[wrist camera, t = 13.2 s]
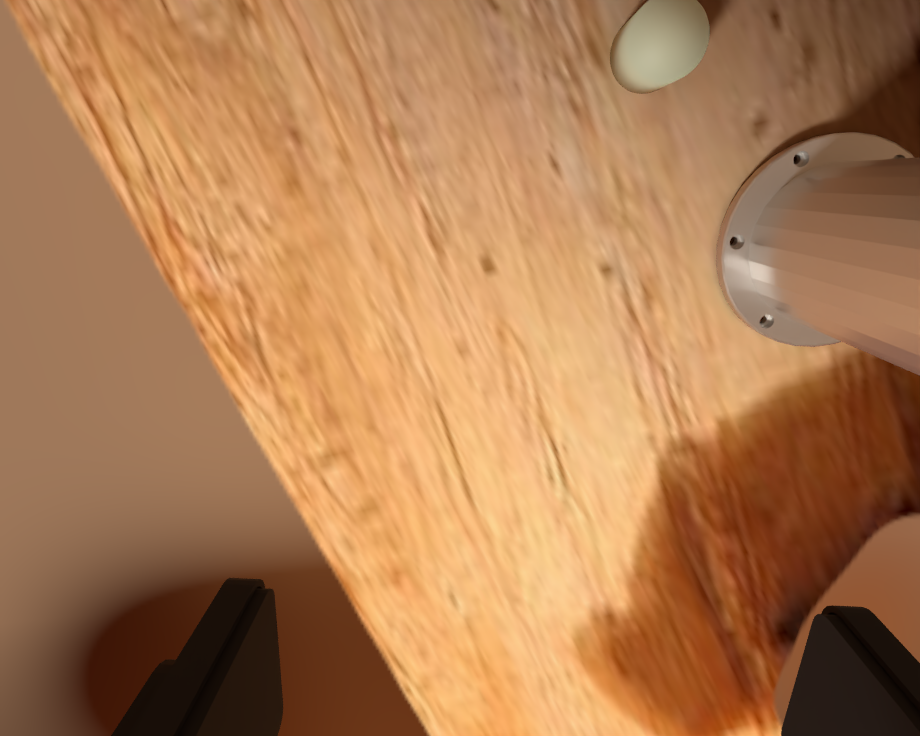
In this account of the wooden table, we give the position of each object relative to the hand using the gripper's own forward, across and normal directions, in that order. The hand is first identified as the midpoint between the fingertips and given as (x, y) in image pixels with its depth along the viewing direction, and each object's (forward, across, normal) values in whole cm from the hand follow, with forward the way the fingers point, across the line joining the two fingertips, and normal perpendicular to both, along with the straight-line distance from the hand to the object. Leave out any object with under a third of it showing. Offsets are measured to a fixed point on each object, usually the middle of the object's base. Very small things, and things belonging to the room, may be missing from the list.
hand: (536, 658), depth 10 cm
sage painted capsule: (+28, -8, -15) cm, 33 cm away
